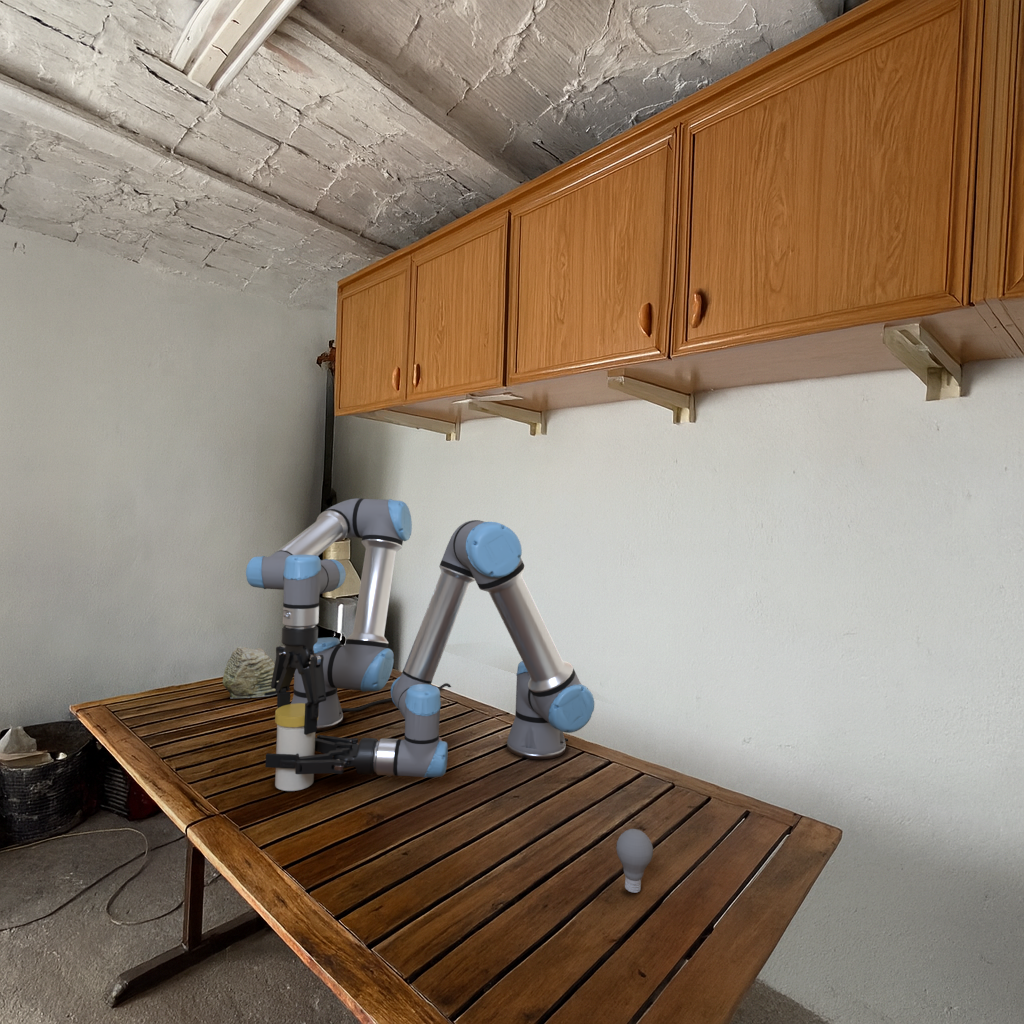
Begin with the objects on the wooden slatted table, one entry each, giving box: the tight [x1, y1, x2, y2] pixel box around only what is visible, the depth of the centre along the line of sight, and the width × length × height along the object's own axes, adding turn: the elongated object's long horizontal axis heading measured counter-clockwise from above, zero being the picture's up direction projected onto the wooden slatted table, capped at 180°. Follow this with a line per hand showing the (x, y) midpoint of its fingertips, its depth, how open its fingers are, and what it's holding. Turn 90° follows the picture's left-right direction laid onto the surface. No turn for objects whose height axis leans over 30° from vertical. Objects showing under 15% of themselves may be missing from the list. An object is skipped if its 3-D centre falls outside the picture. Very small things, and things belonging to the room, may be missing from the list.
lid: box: [274, 703, 319, 727], centre depth 139 cm, size 9×9×2 cm
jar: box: [274, 724, 317, 792], centre depth 140 cm, size 8×8×15 cm
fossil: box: [222, 646, 279, 699], centre depth 198 cm, size 9×18×15 cm, turn 132°
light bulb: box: [615, 828, 654, 894], centre depth 106 cm, size 6×6×10 cm
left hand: (296, 727), depth 140 cm, fingers closed on lid, 9 cm apart
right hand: (274, 752), depth 140 cm, fingers closed on jar, 8 cm apart
